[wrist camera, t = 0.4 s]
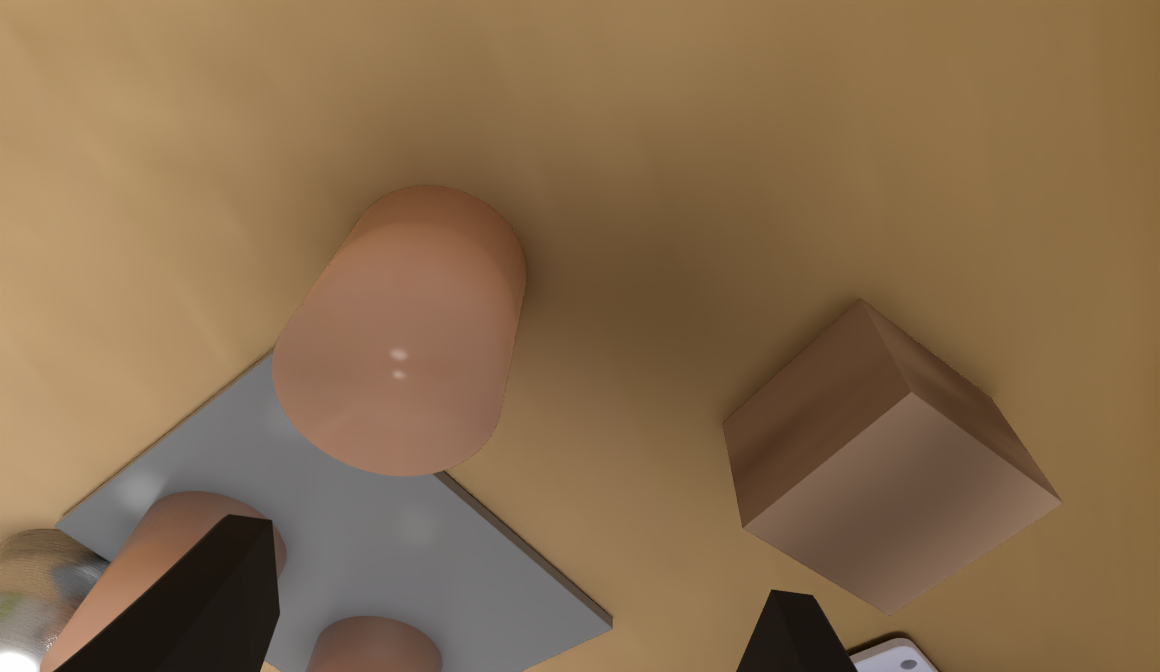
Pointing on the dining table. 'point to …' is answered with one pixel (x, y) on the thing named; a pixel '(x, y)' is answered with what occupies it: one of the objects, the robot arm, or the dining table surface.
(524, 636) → the slate board
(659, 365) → the dining table surface
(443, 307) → the rounded peach cylinder
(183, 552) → the peach domed cylinder
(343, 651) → the salmon capsule cylinder
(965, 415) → the walnut block
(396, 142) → the dining table surface
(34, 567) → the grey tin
